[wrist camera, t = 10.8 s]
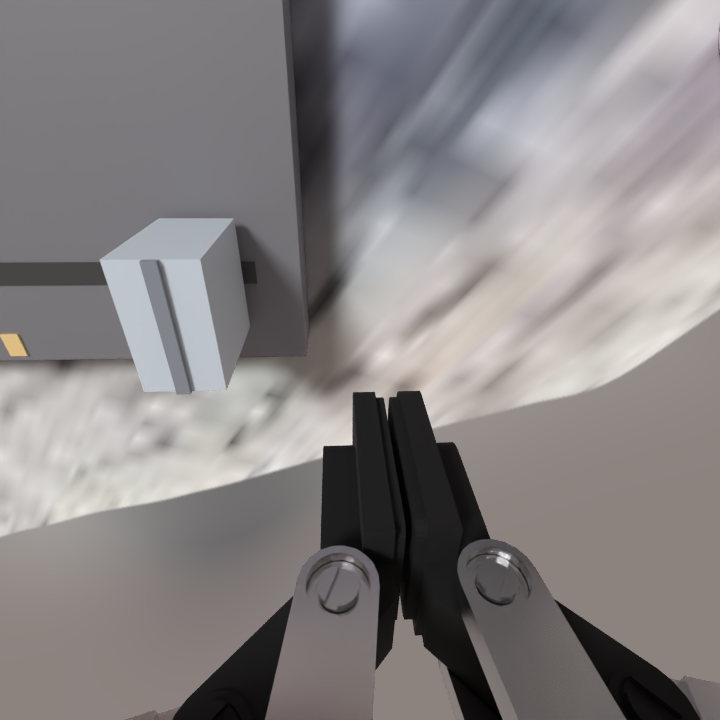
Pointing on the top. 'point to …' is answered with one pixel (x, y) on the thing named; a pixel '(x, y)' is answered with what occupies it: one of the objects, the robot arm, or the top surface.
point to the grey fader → (181, 302)
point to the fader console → (144, 160)
